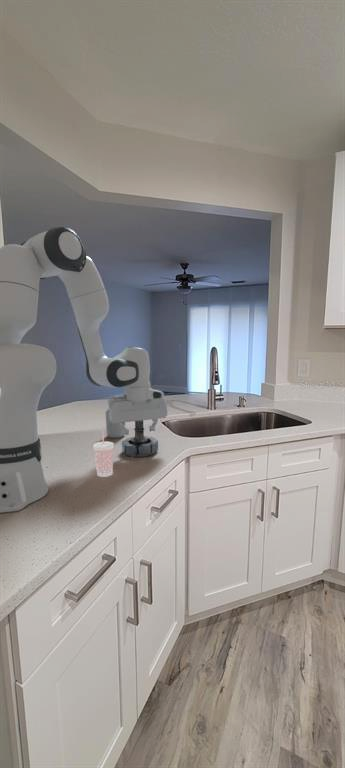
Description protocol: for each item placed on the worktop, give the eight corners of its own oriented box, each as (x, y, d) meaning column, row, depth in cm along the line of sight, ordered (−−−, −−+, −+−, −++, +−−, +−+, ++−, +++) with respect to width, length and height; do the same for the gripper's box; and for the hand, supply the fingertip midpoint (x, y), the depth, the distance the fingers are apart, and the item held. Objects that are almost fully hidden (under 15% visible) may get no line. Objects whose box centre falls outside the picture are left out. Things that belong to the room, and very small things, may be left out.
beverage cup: (93, 471, 102) (90, 426, 101) (113, 468, 105) (111, 424, 103) (96, 479, 97) (93, 431, 95) (117, 475, 99) (115, 429, 97)
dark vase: (145, 452, 116) (145, 418, 114) (129, 451, 117) (128, 417, 115) (149, 447, 122) (149, 414, 120) (133, 446, 123) (133, 413, 121)
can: (127, 433, 143) (125, 405, 142) (122, 439, 136) (121, 409, 134) (109, 433, 144) (108, 406, 142) (104, 438, 136) (103, 409, 135)
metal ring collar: (127, 459, 112) (127, 448, 112) (119, 448, 123) (119, 438, 123) (161, 454, 116) (161, 443, 116) (151, 444, 128) (151, 434, 127)
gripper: (109, 397, 111) (111, 438, 112) (168, 392, 118) (169, 431, 120) (106, 394, 116) (108, 433, 118) (162, 390, 124) (163, 427, 125)
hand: (139, 432), depth 119 cm, fingers open, 8 cm apart
